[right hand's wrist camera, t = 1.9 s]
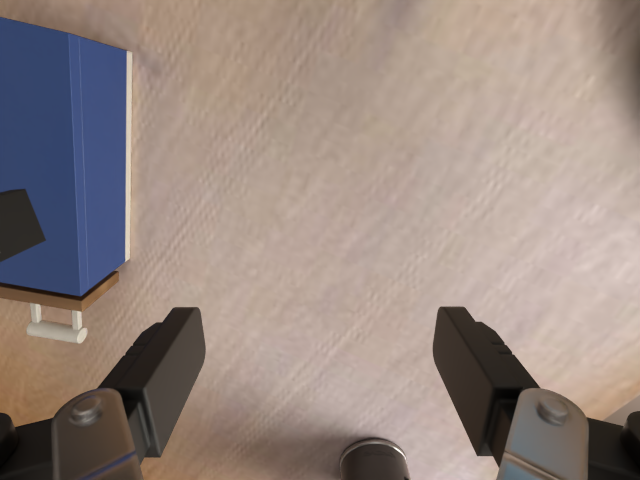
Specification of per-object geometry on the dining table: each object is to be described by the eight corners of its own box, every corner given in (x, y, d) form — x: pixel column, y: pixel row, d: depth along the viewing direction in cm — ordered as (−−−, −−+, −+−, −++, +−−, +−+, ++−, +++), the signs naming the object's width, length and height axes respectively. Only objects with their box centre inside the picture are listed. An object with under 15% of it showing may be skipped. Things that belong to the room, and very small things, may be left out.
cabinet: (129, 258, 37) (80, 296, 29) (32, 240, 36) (-45, 274, 28) (132, 52, 30) (68, 32, 22) (10, 24, 29) (-98, -6, 21)
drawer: (118, 327, 39) (84, 364, 33) (37, 313, 38) (-12, 348, 32) (118, 95, 30) (72, 92, 24) (13, 72, 29) (-60, 63, 24)
